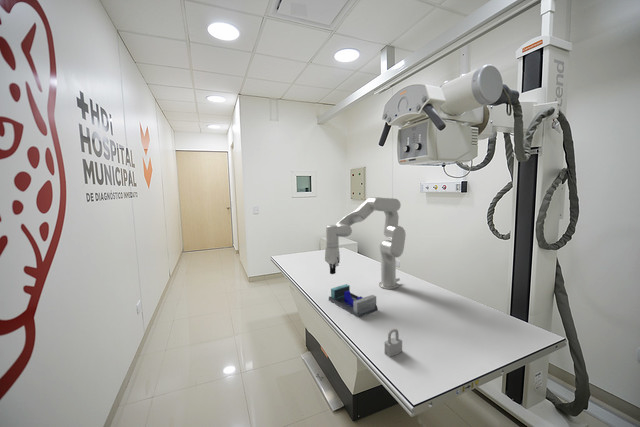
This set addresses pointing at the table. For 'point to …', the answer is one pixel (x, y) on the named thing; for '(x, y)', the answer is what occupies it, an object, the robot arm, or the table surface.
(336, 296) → the block
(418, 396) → the table surface
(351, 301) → the blue curved block
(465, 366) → the table surface
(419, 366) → the table surface
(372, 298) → the vise base
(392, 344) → the padlock
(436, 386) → the table surface
